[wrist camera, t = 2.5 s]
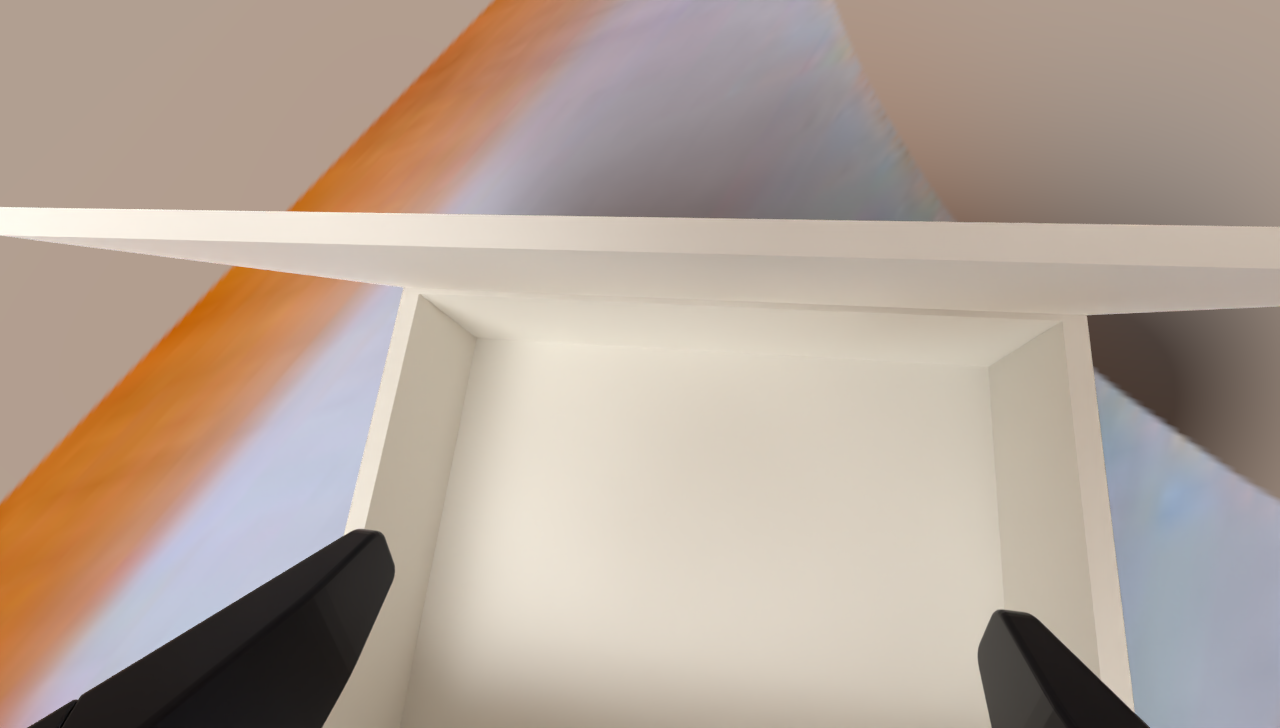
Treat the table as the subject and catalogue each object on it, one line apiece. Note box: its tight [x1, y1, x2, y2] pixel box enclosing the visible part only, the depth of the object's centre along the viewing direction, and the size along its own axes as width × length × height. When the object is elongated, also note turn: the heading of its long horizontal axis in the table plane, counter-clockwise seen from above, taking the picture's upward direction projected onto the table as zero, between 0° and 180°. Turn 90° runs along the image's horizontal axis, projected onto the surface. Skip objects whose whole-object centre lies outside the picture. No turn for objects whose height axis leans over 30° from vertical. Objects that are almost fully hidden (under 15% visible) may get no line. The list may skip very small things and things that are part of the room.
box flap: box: [0, 207, 1280, 315], centre depth 11 cm, size 1×20×10 cm, turn 83°
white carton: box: [322, 288, 1135, 728], centre depth 17 cm, size 16×20×5 cm
